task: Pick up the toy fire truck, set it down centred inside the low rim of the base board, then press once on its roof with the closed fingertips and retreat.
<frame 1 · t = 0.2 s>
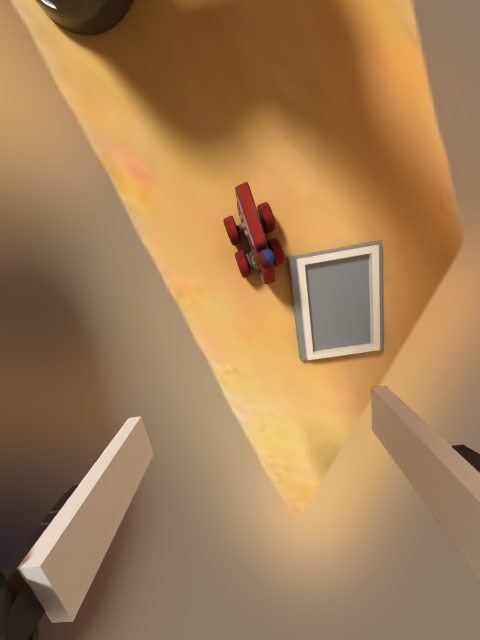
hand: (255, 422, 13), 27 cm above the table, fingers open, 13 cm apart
base board: (335, 304, 38), on the table
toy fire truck: (254, 243, 36), on the table
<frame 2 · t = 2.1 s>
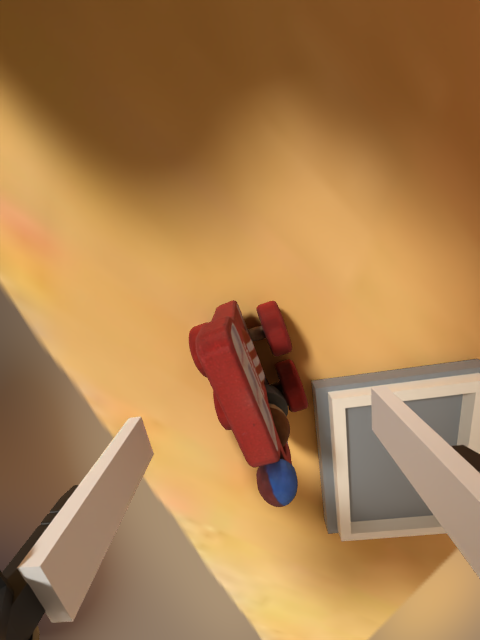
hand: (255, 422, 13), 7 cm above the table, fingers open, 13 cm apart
base board: (390, 450, 22), on the table
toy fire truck: (251, 356, 20), on the table
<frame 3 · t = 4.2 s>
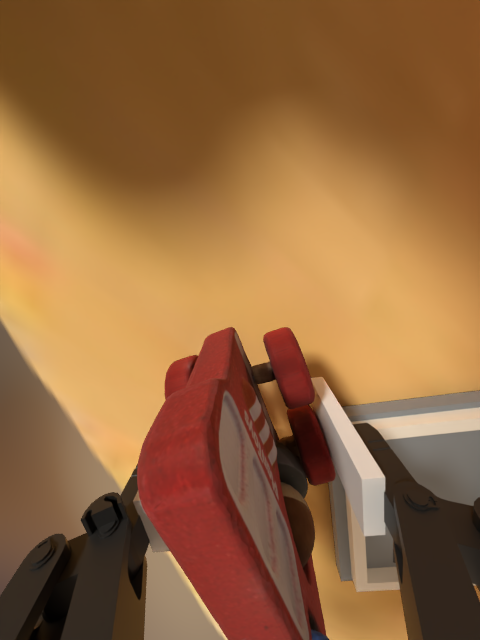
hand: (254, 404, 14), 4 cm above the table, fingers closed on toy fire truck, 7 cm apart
base board: (409, 487, 20), on the table
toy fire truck: (253, 397, 15), point 3 cm above the table, touching gripper
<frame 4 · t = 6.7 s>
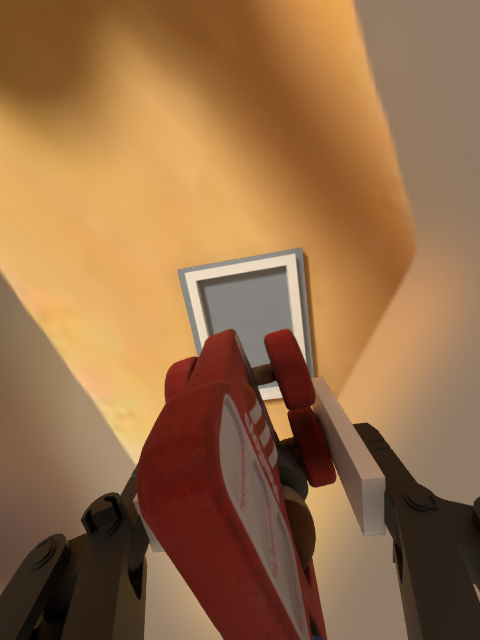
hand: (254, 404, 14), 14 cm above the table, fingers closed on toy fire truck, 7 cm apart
base board: (250, 331, 28), on the table
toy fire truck: (254, 398, 15), point 14 cm above the table, touching gripper
when the fingers open (3 cm above the table, at t = 9.1 s): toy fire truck stays where it is, resting on base board.
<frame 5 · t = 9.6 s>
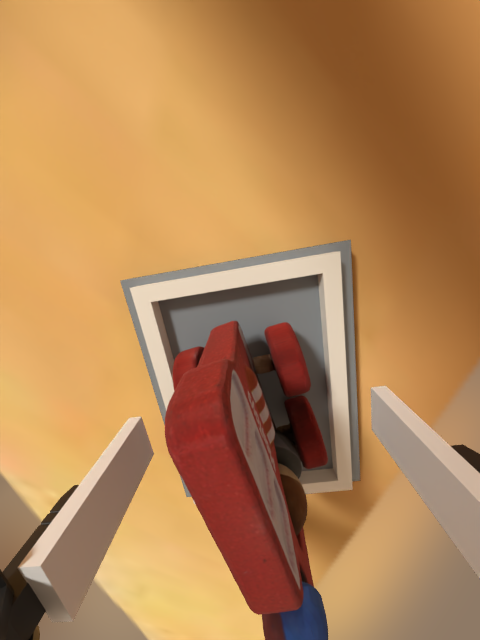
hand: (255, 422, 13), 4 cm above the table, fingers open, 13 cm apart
base board: (253, 382, 17), on the table
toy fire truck: (253, 388, 16), point 1 cm above the table, touching base board
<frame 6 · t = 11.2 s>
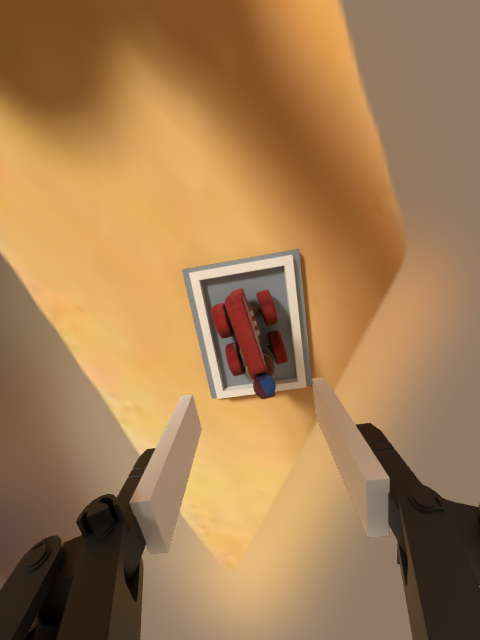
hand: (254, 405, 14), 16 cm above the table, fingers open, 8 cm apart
base board: (251, 328, 30), on the table
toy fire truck: (251, 329, 29), point 1 cm above the table, touching base board
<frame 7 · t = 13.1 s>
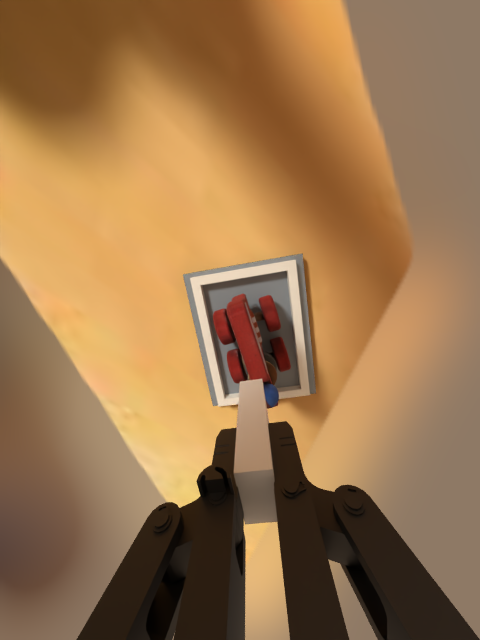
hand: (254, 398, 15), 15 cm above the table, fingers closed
base board: (253, 334, 29), on the table
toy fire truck: (253, 335, 28), point 1 cm above the table, touching base board
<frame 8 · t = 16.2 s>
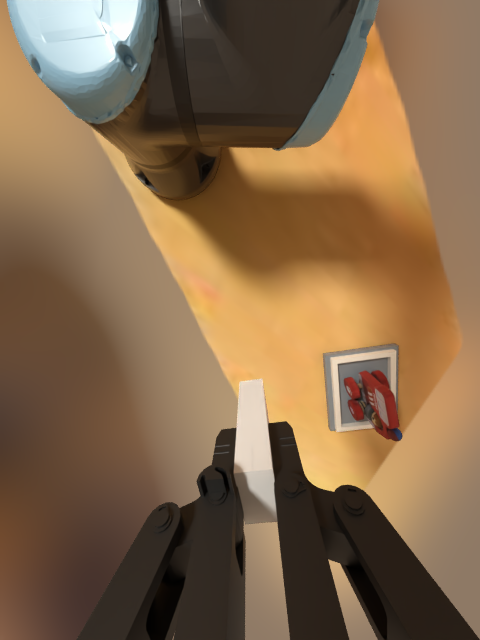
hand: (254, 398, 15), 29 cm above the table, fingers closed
base board: (359, 387, 47), on the table
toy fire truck: (361, 389, 46), point 1 cm above the table, touching base board
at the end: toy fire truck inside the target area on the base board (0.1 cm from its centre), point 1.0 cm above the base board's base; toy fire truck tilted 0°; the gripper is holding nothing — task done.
